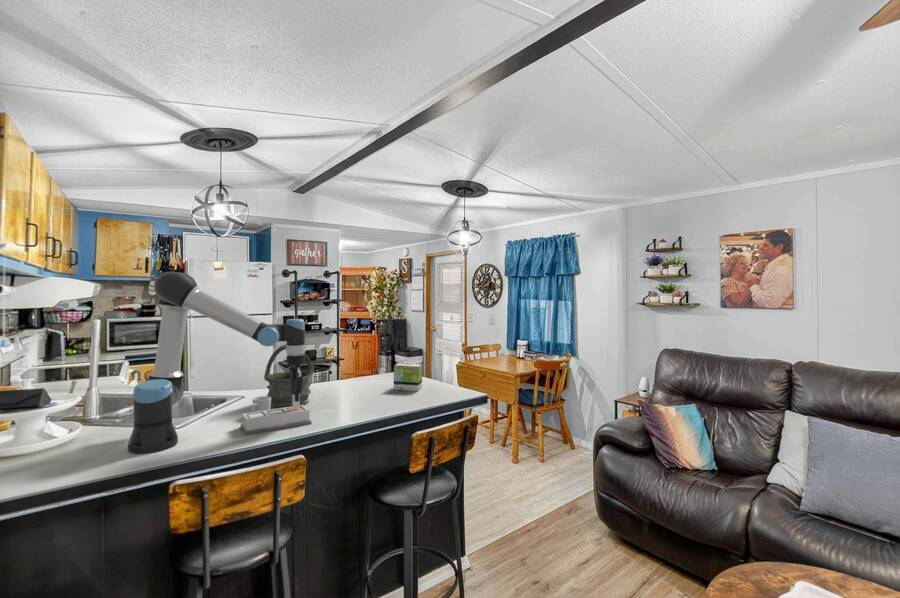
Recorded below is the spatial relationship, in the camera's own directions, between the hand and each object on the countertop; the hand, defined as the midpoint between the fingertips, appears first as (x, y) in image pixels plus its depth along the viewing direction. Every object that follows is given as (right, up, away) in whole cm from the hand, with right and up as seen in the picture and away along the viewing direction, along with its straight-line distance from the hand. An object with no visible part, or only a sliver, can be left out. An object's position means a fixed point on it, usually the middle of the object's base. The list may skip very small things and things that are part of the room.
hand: (296, 408), depth 186 cm
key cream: (-13, -3, -9) cm, 16 cm away
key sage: (-7, -3, -5) cm, 9 cm away
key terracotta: (0, -3, 0) cm, 3 cm away
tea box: (+43, -6, +64) cm, 77 cm away
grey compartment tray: (-7, -6, -5) cm, 10 cm away
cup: (-20, -6, +8) cm, 22 cm away
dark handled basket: (-15, -6, +31) cm, 35 cm away
